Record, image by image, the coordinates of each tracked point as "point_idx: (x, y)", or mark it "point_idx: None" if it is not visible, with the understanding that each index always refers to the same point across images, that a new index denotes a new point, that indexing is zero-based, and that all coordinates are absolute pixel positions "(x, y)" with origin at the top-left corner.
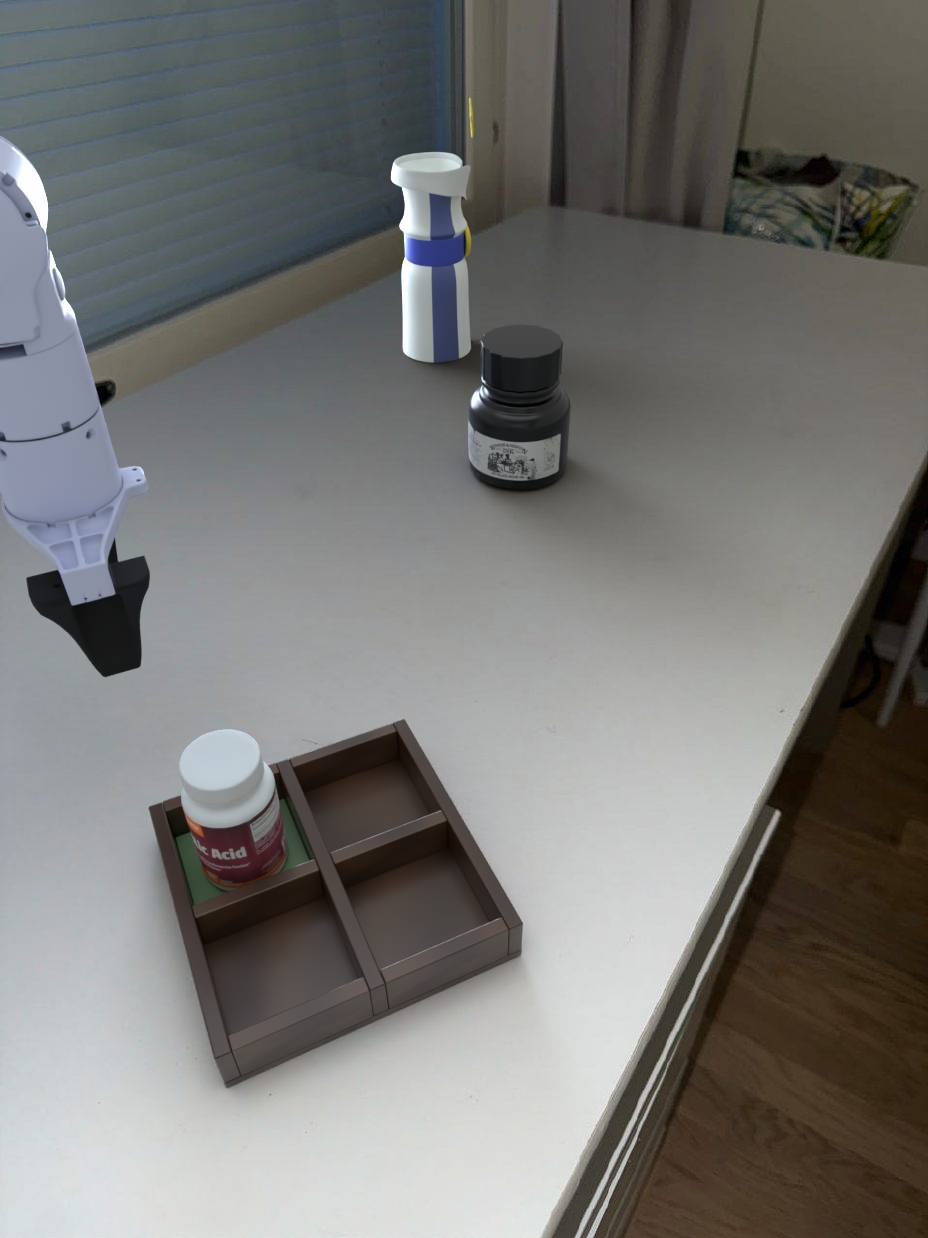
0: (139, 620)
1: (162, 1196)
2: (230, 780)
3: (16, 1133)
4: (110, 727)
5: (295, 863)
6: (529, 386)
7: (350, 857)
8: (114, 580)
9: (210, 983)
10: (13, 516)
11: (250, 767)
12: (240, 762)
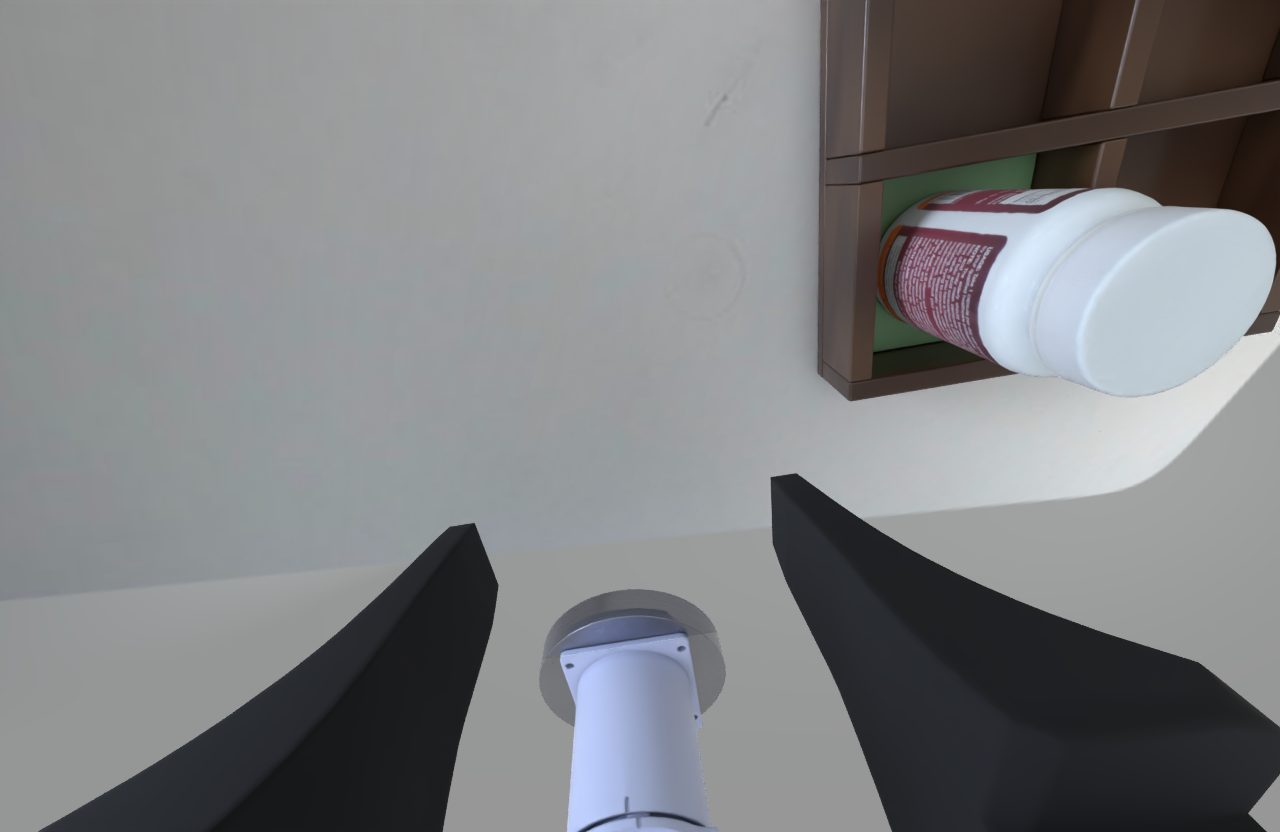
0: (924, 557)
1: (1224, 377)
2: (1256, 292)
3: (1075, 493)
4: (585, 436)
5: (983, 183)
6: None
7: (1144, 67)
8: (1177, 823)
9: None
10: None
11: (1261, 240)
12: (1223, 264)
